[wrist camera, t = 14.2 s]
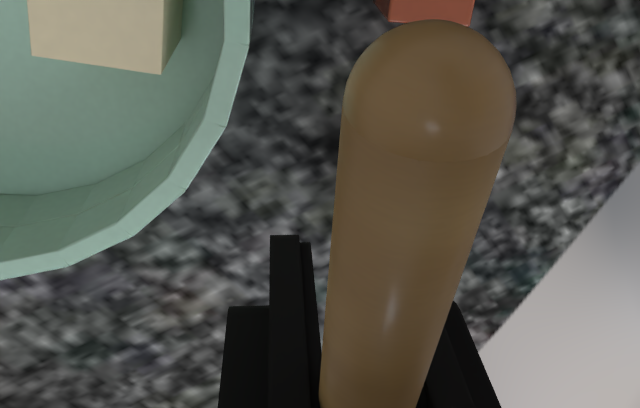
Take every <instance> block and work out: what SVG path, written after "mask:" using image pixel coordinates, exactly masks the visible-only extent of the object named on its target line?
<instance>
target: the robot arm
mask: <svg viewBox="0 0 640 408" xmlns="http://www.w3.org/2000/svg"><path fill="white" fill-rule="evenodd" d="M321 358H322V353H321V343H320V333H319V323H318V313H317V303H316V293H315V283H314V273H313V262H312V252H311V243H310V242H302V243H300V242H299V235H270V300H269V306H233V307H229V309H228V315H227V324H226V334H225V344H224V353H223V363H222V372H221V382H220V392H219V401H218V408H320V402H319V382H320V370H321ZM416 408H501V406H500V403H499V401H498V399H497V396H496V394H495V391H494V389H493V387H492V384H491V382H490V380H489V377H488V375H487V373H486V370H485V368H484V365H483V363H482V361H481V358H480V356H479V354H478V351H477V349H476V347H475V344H474V342H473V340H472V337H471V335H470V332H469V330H468V328H467V325H466V323H465V321H464V318H463V316H462V314H461V311H460V309H459V307H458V305H457V304H456V303H455V302H454V301H453V302H452V304H451V307H450V310H449V313H448V316H447V319H446V322H445V324H444V327H443V330H442V333H441V336H440V339H439V342H438V345H437V347H436V350H435V353H434V356H433V359H432V362H431V365H430V367H429V370H428V373H427V376H426V379H425V382H424V385H423V388H422V390H421V393H420V396H419V399H418V402H417V405H416Z"/></svg>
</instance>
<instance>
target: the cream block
mask: <svg viewBox="0 0 640 408" xmlns="http://www.w3.org/2000/svg"><path fill="white" fill-rule="evenodd" d="M27 9H28V21H29V34H30V46H31V55H32V56H36V57H43V58H50V59H57V60H63V61H70V62H77V63H84V64H90V65H97V66H104V67H111V68H117V69H124V70H131V71H138V72H144V73H151V74H158V75H161V74H162V72H163V70H164V68H165V67H166V65H167V63H168V61H169V59H170V58H171V56H172V54H173V52H174V50H175V49H176V47H177V45H178V43H179V41H180V40H181V28H182V9H183V0H27Z"/></svg>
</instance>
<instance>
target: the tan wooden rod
mask: <svg viewBox="0 0 640 408" xmlns="http://www.w3.org/2000/svg"><path fill="white" fill-rule="evenodd" d="M515 114H516V91H515V87H514V83H513V79H512V75H511V72H510V69H509V67H508V66H507V64H506V62H505V61H504V59H503V57H502V55H501V54H500V52H499V51H498V50H497V49H496V48H495V47H494V46H493V45H492V44H491V43H490V42H489V41H488V40H487V39H486V38H485V37H484V36H483V35H481V34H480V33H478V32H477V31H475V30H473V29H471V28H468V27H466V26H464V25H462V24H459V23H456V22H452V21H447V20H440V19H428V20H419V21H413V22H408V23H405V24H402V25H400V26H398V27H396V28H394V29H391V30H389V31H388V32H386V33H384V34H382V35H381V36H380V37H379V38H378V39H376V40H375V41H374V42H373V43H372V44H370V45H369V46H368V47H367V48H366V49H365V51H364V52H363V53H362V55H361V56H360V57H359V58H358V60H357V61H356V63H355V65H354V67H353V69H352V71H351V73H350V75H349V77H348V80H347V83H346V88H345V93H344V97H343V105H342V117H341V129H340V141H339V153H338V165H337V177H336V189H335V201H334V213H333V225H332V237H331V249H330V262H329V274H328V286H327V298H326V310H325V322H324V334H323V346H322V358H321V370H320V382H319V402H320V408H416V405H417V402H418V399H419V396H420V393H421V390H422V388H423V385H424V382H425V379H426V376H427V373H428V370H429V367H430V365H431V362H432V359H433V356H434V353H435V350H436V347H437V345H438V342H439V339H440V336H441V333H442V330H443V327H444V324H445V322H446V319H447V316H448V313H449V310H450V307H451V304H452V302H453V299H454V296H455V293H456V290H457V287H458V284H459V282H460V279H461V276H462V273H463V270H464V267H465V264H466V261H467V259H468V256H469V253H470V250H471V247H472V244H473V241H474V239H475V236H476V233H477V230H478V227H479V224H480V221H481V218H482V216H483V213H484V210H485V207H486V204H487V201H488V198H489V196H490V193H491V190H492V187H493V184H494V181H495V178H496V175H497V173H498V170H499V167H500V164H501V161H502V158H503V155H504V153H505V150H506V147H507V144H508V141H509V138H510V135H511V132H512V129H513V124H514V119H515Z"/></svg>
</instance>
